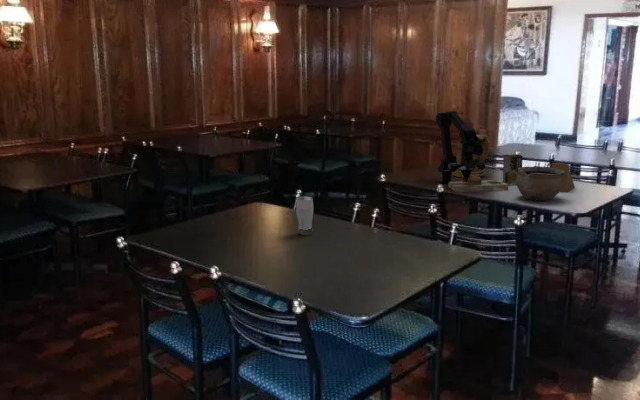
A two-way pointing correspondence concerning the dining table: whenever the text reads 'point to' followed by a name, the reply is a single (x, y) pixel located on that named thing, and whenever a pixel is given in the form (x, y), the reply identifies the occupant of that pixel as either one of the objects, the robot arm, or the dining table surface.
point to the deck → (477, 185)
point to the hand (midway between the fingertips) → (465, 181)
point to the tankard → (474, 156)
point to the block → (474, 177)
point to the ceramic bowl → (539, 182)
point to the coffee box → (511, 168)
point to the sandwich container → (565, 176)
